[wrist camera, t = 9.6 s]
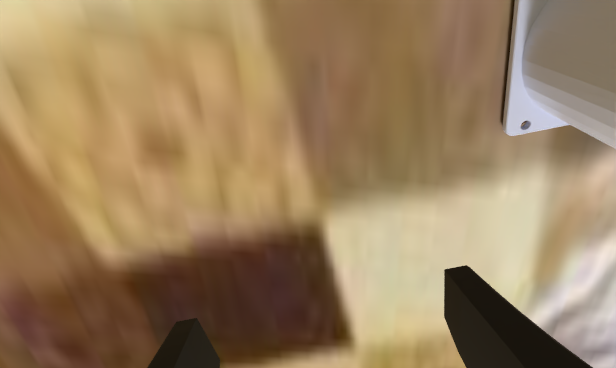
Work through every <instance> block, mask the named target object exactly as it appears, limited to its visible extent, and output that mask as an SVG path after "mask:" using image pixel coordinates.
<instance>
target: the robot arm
mask: <svg viewBox="0 0 616 368" xmlns="http://www.w3.org/2000/svg"><path fill="white" fill-rule="evenodd" d="M524 121H526V124H525V125H524V126H522V127H520V126H521V124H522V123H523V122H524ZM565 125H572V126H574V127H575V128H577V129H579V130H581V131H583V132H585V133H587V134H589V135H591V136H592V137H594V138H596V139H598V140H600V141H602V142H604V143H606V144H607V145H609V146H611V147H613V148H615V149H616V0H515V5H514V15H513V26H512V36H511V46H510V56H509V66H508V77H507V87H506V97H505V107H504V118H503V131H504V132H505V133H506V134H508V135H510V136H515V135H520V134H525V133H530V132H535V131H540V130H545V129H550V128H555V127H560V126H565ZM444 317H445V320H446V322H447V325H448V327H449V330H450V332H451V335H452V337H453V340H454V342H455V345H456V347H457V350H458V352H459V354H460V356H461V358H462V360H463V362H464V364H465V366H466V368H593V367H591V366H590V365H588V364H587V363H586V362H584V361H583V360H582V359H580V358H579V357H578V356H576V355H575V354H573V353H572V352H571V351H569V350H568V349H567V348H565V347H564V346H563V345H561V344H560V343H559V342H557V341H556V340H555V339H554V338H552V337H551V336H550V335H548V334H547V333H546V332H545V331H543V330H542V329H541V328H540V327H538V326H537V325H536V324H535V323H533V322H532V321H531V320H530V319H529V318H527V317H526V316H525V315H524V314H522V313H521V312H520V311H519V310H518V309H516V308H515V307H514V306H513V305H512V304H510V303H509V302H508V301H507V300H506V299H505V298H503V297H502V296H501V295H500V294H499V293H498V292H497V291H495V290H494V289H493V288H492V287H491V286H490V285H489V284H487V283H486V282H485V281H484V280H483V279H482V278H481V277H480V276H479V275H477V274H476V273H475V272H474V271H473V270H472V269H471V268H470V267H468V266H467V265H466V266H461V267H455V268H450V269H445V296H444ZM148 368H220V359H219V357H218V355H217V353H216V352H215V350H214V348H213V346H212V344H211V343H210V341H209V339H208V337H207V335H206V334H205V332H204V330H203V328H202V327H201V325H200V323H199V321H198V319H197V318H194V319H189V320H184V321H179V322H176V324H175V325H174V327H173V328H172V330H171V331H170V333H169V334H168V336H167V337H166V339H165V341H164V342H163V344H162V345H161V347H160V349H159V350H158V352H157V353H156V355H155V357H154V358H153V360H152V361H151V363H150V364H149V366H148Z"/></svg>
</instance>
